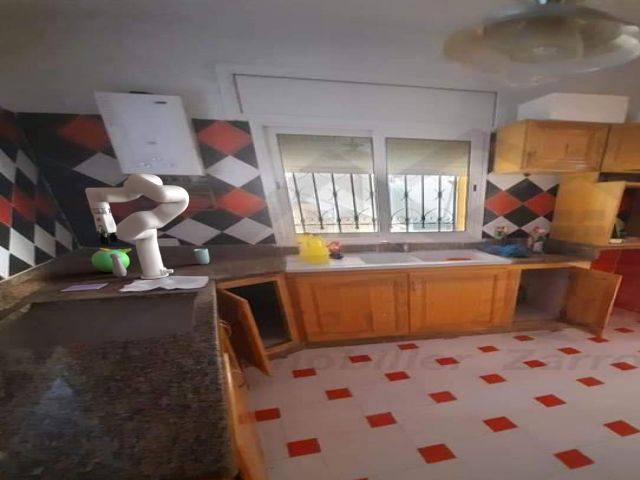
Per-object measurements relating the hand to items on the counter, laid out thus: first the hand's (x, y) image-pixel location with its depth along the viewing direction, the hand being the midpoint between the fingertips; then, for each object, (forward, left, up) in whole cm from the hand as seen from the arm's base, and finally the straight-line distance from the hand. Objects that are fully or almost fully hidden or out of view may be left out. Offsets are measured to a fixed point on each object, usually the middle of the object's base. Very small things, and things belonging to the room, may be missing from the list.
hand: (110, 243), depth 177 cm
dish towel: (+5, +24, -19) cm, 31 cm away
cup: (-36, -21, -19) cm, 46 cm away
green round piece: (+8, -13, -19) cm, 25 cm away
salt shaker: (0, 0, -19) cm, 19 cm away
